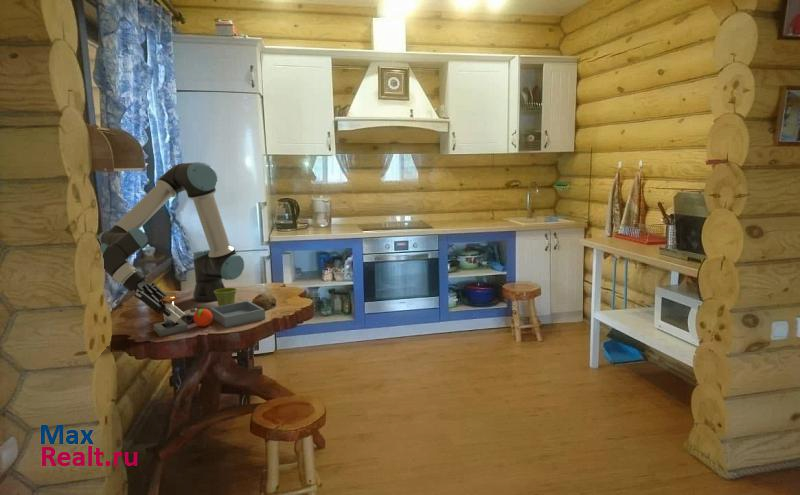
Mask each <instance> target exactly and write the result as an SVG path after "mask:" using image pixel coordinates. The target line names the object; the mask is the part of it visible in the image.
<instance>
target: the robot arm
mask: <svg viewBox="0 0 800 495" xmlns="http://www.w3.org/2000/svg"><path fill="white" fill-rule="evenodd" d="M217 183H218V176H217V172H216V170H215V169H214V168H213V167H212V166H211V165H209V163H205V162H187V163H186V162H182V163H178V164H175V165H174V166H172V167H170V169H168V170H167V171H166V172H165V173H163V174H162V175H161V176H160V177H159V178H158V179H157V180H156V182H155V184H156V185H155V186H153V188H151V189H150V190H149V191H148V192H147V194H145V195H144V196H143V198H141V199H140V200H139V201H138V202H136V204H135V205H134V206H133V207H132V208H131V209H130V210H129V211H128V212H127V213H126V214H125V215H124V216H123V217H122V218H120V219H119V221H117V223H116V224H114V225H113V226H112V227H111V228H110V229H109V230H106V231H103V232H101V233H100V234H98V236H97V239H98V238H99V241H100V243H101V249H102V252H103V258H104V269H105V271H104V272H105V273H106V274H108V276H110V277H112V278H113V279H114V281H116V282H118V283H119V284H120V285H122V286H123V287H124V288H125V289H126V290H128V291H129V292H135V294H134V297H135V298H137V299H138V300H139V301H142V302H143V303H144V304H145V305H146V306H148V307H149V308H150V309H152V310H153V312H156V313H158V314H160V313H162V314H165V315H166V316H167V317H168V318H170V319H171V320H172V321H173V322H175V323H176V322H177V321H178V320H179V319H182V318H183V315H184V314H185V313H184V311H182V309H180V308H179V307H178V306H176V305H175V304H174V307H175V312H174V311H172V310H171V309H170V308H169V307H167V306H166V307H165V306H164V305H163V304H162V302H161V301H160V298H161V297H164V296H169V295H168V294H167V293H166V292H164V291H163V290H162V288H159V287H158V285H156V283H155V282H152V283H151V284H150V283H149V282H148V281H146V280H145V279H146V278H147V276H146V274H144V273H142V272H141V271H140V270H138V269H137V268H136V267H135V266H134V265H132V264H131V263H130V262H129V261H127V260H128V259H129V258H130V257H131V256H132V255H133V254H135V253H136V252H138V251H139V250H140V249H142V248H143V247H144V246H145V245H146V244H147V243H148V241H149V238H148V236H147V235H146V233H145V232H144V231H143V230H141V228H142V227H143V226H144V225H145V224H146V223H147V222H148V221H149V220H150V219H151V218H152V217H153V216H154V215H155V214H156V213H157V212H158V211H159V210H160V209H161V208H162V207H163V206H164V205H165V204H166V203H167V202H168V201H169V200H170V199H171V198H175V197H176V196H177V195H179V193H182V192H183V191H185V192H186V194H187V197H188V199H190V200H192V201H193V204H194V207H195V209H196V212H197V216H198V218H199V221H200V223H201V228H202V231H203V233H204V236H205V239H206V242H207V244H208V248H209V249H205V250H201V251H200V250H198V251H196V252H194V253H193V266H194V278H195V286H194V289H193V294H192V297H193V301H195V302H213V301H217V298H216V296H215V293H214V291H215V290H217V289H221V288H226V287H225V284H224V282H223V280H224V281H225V280H226V281H232V280H236V279H238V278H239V277H241V275H242V273H243V272H244V269H245V261H244V258H243V257H242V256H241V255H239V254H237V251H236V249H235V247H234V246H233V245H231V244H230V242H229V238H228V236H227V232H226V229H225V226H224V223H223V220H222V217H221V214H220V213H221V212H220V210H219V208H218V204H217V202H216V199H215V193H216V192H217V189H216V186H217Z"/></svg>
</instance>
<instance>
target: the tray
mask: <svg viewBox="0 0 800 495" xmlns="http://www.w3.org/2000/svg"><path fill="white" fill-rule="evenodd" d="M209 309H210V310H209V311H210V312H211V313H212V316H213V319H212V320H213V321H216V322H217V323H219V324H220V325H221V326H223V327H224V328H231V327H235V326H238V325H239V326H240V325H244V324H249V323H253V322H256V321H257V322H258V321H262V320H265V319H266V311H265V309H263V308H261V307H259V306H257V305H255V304H253V303H252V301H249V300H244V301H238V302H235V303H233V304H228V305H222V306H218V305H217V306H212V307H210V308H209Z"/></svg>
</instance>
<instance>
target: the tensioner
mask: <svg viewBox="0 0 800 495" xmlns="http://www.w3.org/2000/svg"><path fill="white" fill-rule="evenodd" d="M199 309H201V307H200V308H197V307H192V308H190V309H186V310H184V311H183V312H184V313H185V314H184V315H183V317H182V318H183V319H182V318H181V319H179V320H178V321H177V322H176V325H174V326H169V327H165V324H164V321H162V322H158V323H156V322H155V323H153V331H154V332H155V333H156V334H157V335H158V336H159V337H160V338H161V337H167V336H170V335H174V334H181V333H184V332H185V333H186V332H188V331H189V325H188V324H190V323H192V322H194V319H193V318H194V314H195V313H196V311H198V310H199Z"/></svg>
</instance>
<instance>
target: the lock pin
mask: <svg viewBox="0 0 800 495" xmlns="http://www.w3.org/2000/svg"><path fill="white" fill-rule="evenodd" d="M175 300H176V296H175V295H168V296H164V297H161V298H160V301H161V302H162V304H163V305H164V306H165V307H166V306H167V307H169V308H170V309H171V310H172V311H174V312H175V307H174V305H175ZM162 314H163V313H162ZM163 322H164V324H165V327H169V326H174V325H176V323H175V322H173V321H172V320H171V319H170V318H168V317H167V316H166V315H165V314H163Z"/></svg>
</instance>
